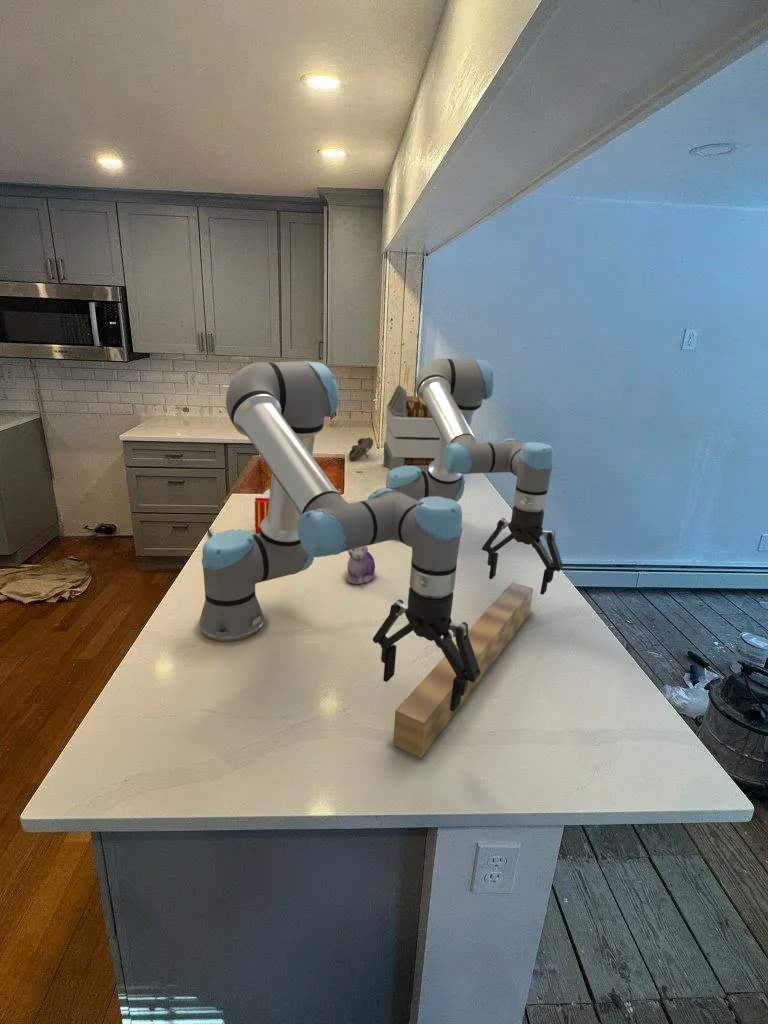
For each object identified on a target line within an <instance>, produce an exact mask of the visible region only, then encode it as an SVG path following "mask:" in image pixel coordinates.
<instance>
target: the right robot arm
mask: <svg viewBox="0 0 768 1024" xmlns="http://www.w3.org/2000/svg"><path fill="white" fill-rule="evenodd" d="M494 389H495V377H494V371H493V368H492V366H491V364H490V363H489V361H487V360H485V359H476V358H437V359H433V360H431V361H429V362H428V363H426V364H425V365H424V366H423V367H422V368H421V369H420V371H419V373H418V375H417V377H416V380H415V393H416V397H417V396H418V398H419V400H420V402H421V403H422V404H424V405H425V406H427V408H428V410H429V412H430V414H431V416H432V418H433V420H434V422H435V424H436V426H437V428H438V430H439V433H440V435H441V436H440V440H439V444H438V448H437V452H436V456H435V461H433V462H431V463H430V464H429V465H428V466H427V470H422V469H421V467H420V466H407V465H404V466H401V467H397V468H394V469H392V470H390V469H389V470H388V472H387V475H386V480H385V481H386V482H385V488H389V489H392V490H396V491H398V492H402V493H403V494H405V495H407V496H409V497H411V498H413V499H415V500H417V501H419V500H421V499H422V498H425V497H433V496H436V497H443V498H446V499H452V500H454V501H456V502H457V503H458V502H459V501H460V499H461V498H463V497H462V496H463V495H464V493H465V492H464V491H465V484H466V479H465V475H469V474H471V475H472V474H497V473H499V474H500V473H511V474H513V475H514V476H515V477H516V483H515V489H514V498H513V506H512V512H511V519H510V521H509V520H506V518H504V517H502V518H500V519H499V520H498V521H497V524H496V527H495V529H494V531H493V532H492V533H491V534H490V536H489V538H488V539H487V540H486V541H485V543H484V544H483V546H481V550H482V551H483V552H486V553H487V554H488V556H487V565H488V566H489V573H488V575H489V576H488V579H490V580H493V579H494V578H495V577H496V574H497V568H498V560H499V552H497V551H499V550H500V549H502V548H503V547H504V546H506V545H507V544H509V543H510V542H511V541H512V540H514V541H516V543H523V544H525V545H527V546H529V545H531V546H532V548H533V549H534V550H535V552H536V553H537V555H538V556H539V558H540V560H541V562H542V563H543V565H544V566H545V569H544V571H543V576H542V583H541V588H540V593H539V594H540V595H542V596H543V595H545V593H546V592H547V589H548V584H550V583H552V581H553V579H554V574H555V572H560V571H561V570H562V568H564V564H563V561H562V559H561V555H560V552H559V548H558V545H557V543H556V538H555V537H556V532H555V530H554V529H551V530H544V529H543V523H544V518H545V510H544V509H545V508H546V507H547V506H546V505H547V500H548V499H547V498H548V492H549V486H550V481H551V475H552V469H553V466H554V453H555V451H554V449H553V448H554V447H552V446H551V445H550V444H547V443H543V442H536V441H530V442H525V443H524V442H522V441H519V440H518V439H514V438H509V437H508V438H504V439H502V440H500V441H499V442H479V441H478V440H477V439H476V437H475V435H474V434H473V431H472V429H471V426H472V422H473V418H474V415H475V412H476V411H478V410H479V409H481V407H482V404H483V401H484V400H489V399H491V397H493V393H494ZM346 503H348V502H347V501H346ZM506 528H508V530H509V531H510V534H509V535H507V536H506V537H505V538H503V539H502V540H500V541H499V542H498V543H497V544H495V545H494V546H493V547H492V544H493V543H494V542H495V540H496V539H497V538H498V537H499V535H500V534H501V532H503V530H505V529H506ZM542 536H543V537H544V540H545V541H546V544H547V549H548V551H549V552H548V551H547V550H546V547H545V546H544V544H543V540H542V539H541V537H542ZM394 540H395V541H397V540H396V539H394Z"/></svg>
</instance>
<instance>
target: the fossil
mask: <svg viewBox="0 0 768 1024" xmlns="http://www.w3.org/2000/svg"><path fill="white" fill-rule="evenodd" d="M373 446H374V439H373V438H371V437H369V436H368V437H361V438H358V440H357V445H356V444H355V445H352V446H351V449H350V451H349V454H348V459H349V461H351V462H356V461H357V460H360V459H361V458H363V456H366V458H369V456H368V455H367V453H368V452H369V451H370V450H371V449H372V447H373Z"/></svg>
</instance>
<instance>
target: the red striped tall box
mask: <svg viewBox="0 0 768 1024" xmlns="http://www.w3.org/2000/svg"><path fill="white" fill-rule="evenodd" d="M269 497H270V489H266V490H264V492H263V493H262V494H261V495H260V496H259V497H255V498H254V527H255V534H259V533H260V525H261V522H262V520H263V519H265V518H266V517H268V507H269Z"/></svg>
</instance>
